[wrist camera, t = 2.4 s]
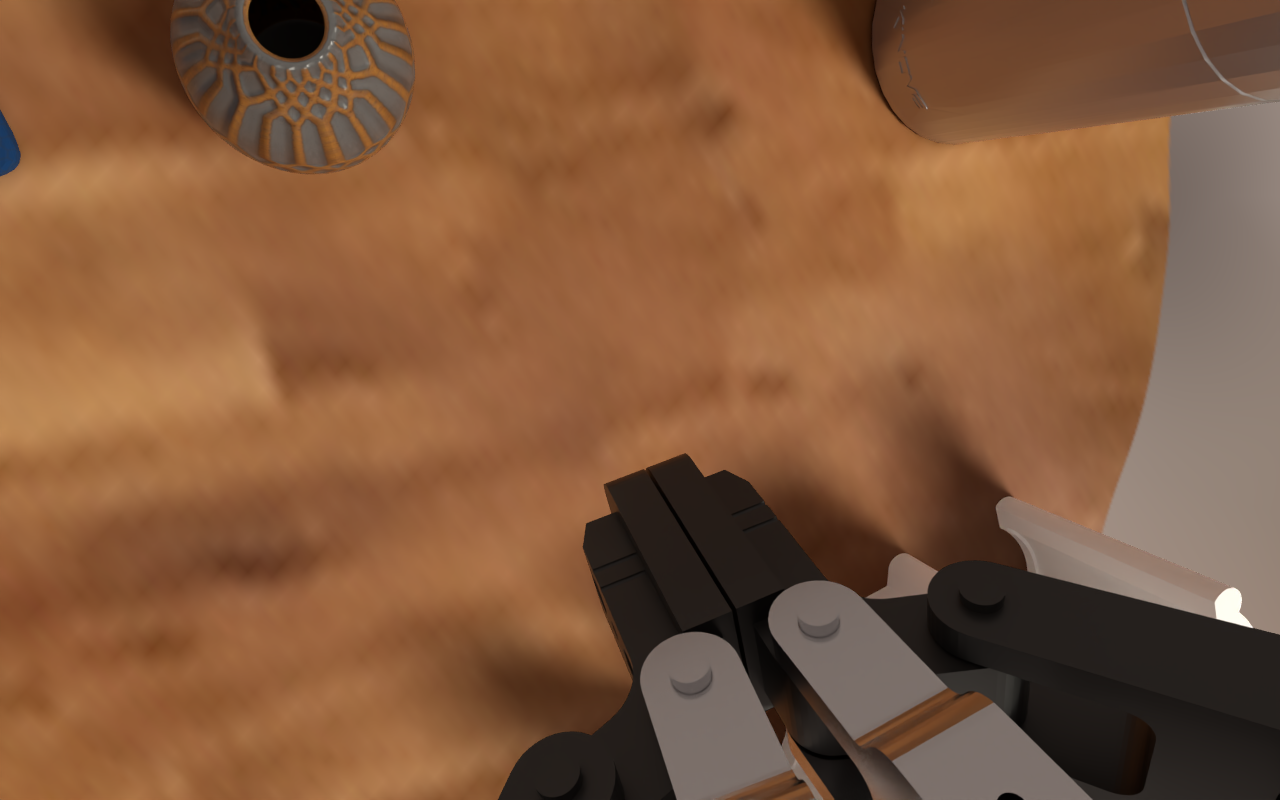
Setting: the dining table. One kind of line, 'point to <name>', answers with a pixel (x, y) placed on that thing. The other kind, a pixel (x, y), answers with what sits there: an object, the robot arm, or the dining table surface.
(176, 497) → the dining table surface
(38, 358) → the dining table surface
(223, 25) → the vase
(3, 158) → the cell phone
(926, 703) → the robot arm
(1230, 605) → the bracket
